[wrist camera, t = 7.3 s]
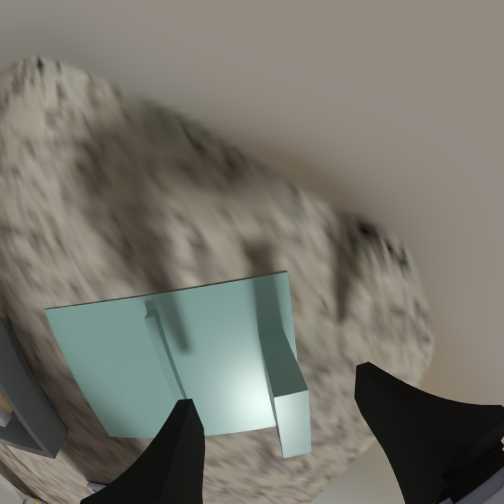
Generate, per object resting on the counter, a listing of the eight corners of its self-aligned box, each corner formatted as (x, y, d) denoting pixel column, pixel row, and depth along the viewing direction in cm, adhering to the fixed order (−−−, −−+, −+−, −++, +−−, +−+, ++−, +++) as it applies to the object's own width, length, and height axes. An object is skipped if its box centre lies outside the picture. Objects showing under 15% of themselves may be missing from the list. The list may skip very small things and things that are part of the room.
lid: (300, 414, 15) (321, 476, 10) (111, 431, 15) (93, 486, 10) (285, 268, 13) (319, 317, 8) (48, 306, 12) (-3, 351, 7)
